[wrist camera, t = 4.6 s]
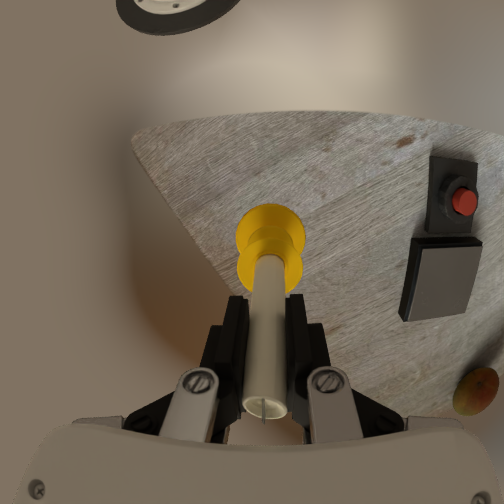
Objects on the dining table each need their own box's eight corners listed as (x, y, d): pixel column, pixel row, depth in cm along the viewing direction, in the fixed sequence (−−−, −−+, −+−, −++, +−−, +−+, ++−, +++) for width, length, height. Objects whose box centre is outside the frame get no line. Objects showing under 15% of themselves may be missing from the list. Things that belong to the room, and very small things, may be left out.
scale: (411, 237, 33) (420, 246, 31) (474, 236, 32) (485, 243, 30) (397, 312, 38) (404, 324, 35) (457, 304, 37) (465, 314, 34)
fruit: (488, 350, 41) (509, 380, 32) (485, 379, 45) (501, 407, 36) (446, 377, 44) (463, 411, 35) (447, 403, 48) (460, 434, 39)
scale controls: (429, 155, 29) (441, 158, 26) (472, 161, 28) (485, 164, 26) (424, 230, 33) (434, 238, 30) (466, 230, 32) (477, 237, 29)
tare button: (452, 186, 28) (460, 189, 26) (470, 188, 27) (478, 191, 26) (450, 211, 29) (457, 215, 27) (467, 212, 29) (475, 216, 27)
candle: (251, 275, 23) (223, 460, 9) (225, 217, 21) (145, 383, 7) (313, 255, 22) (358, 439, 8) (292, 193, 20) (334, 346, 6)
